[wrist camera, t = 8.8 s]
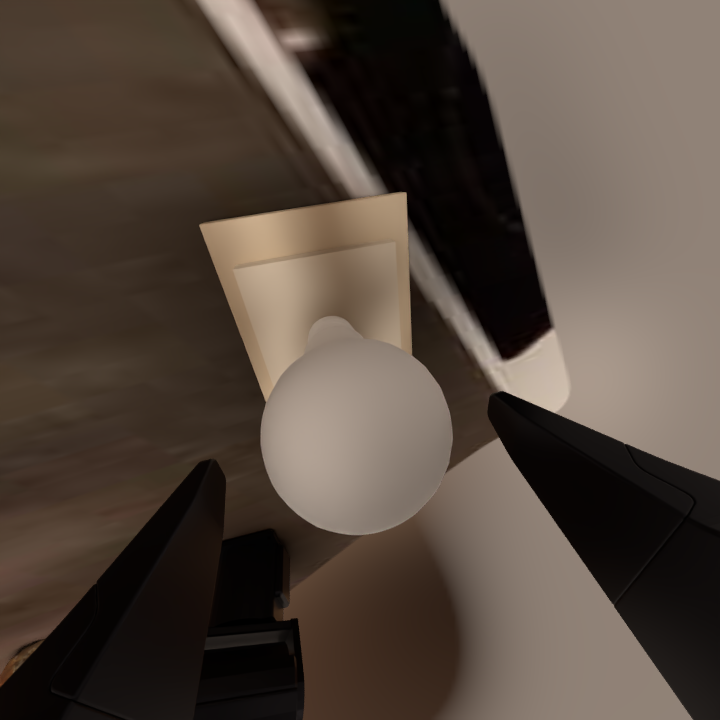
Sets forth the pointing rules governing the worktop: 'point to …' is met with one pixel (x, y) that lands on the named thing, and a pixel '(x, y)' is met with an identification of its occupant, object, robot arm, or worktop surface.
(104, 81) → the worktop surface
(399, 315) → the base
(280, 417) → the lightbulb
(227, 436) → the worktop surface
